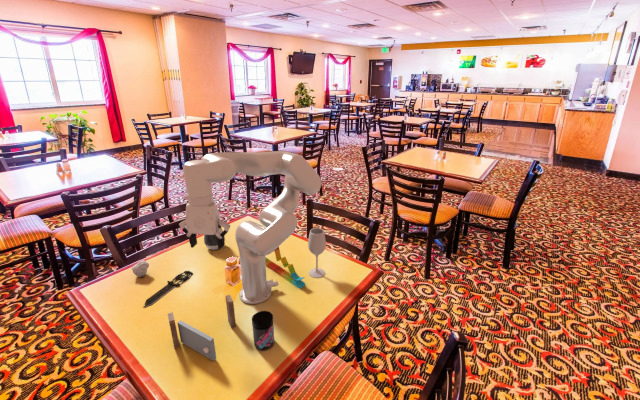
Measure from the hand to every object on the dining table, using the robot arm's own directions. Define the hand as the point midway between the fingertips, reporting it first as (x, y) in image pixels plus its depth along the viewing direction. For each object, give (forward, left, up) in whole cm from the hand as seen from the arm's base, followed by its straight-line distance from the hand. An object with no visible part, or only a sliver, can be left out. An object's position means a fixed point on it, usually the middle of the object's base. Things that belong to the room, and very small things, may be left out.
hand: (207, 246), depth 108 cm
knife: (+14, -25, -29) cm, 41 cm away
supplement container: (-10, +22, -29) cm, 37 cm away
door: (+10, +15, -28) cm, 33 cm away
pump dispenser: (-11, -51, -29) cm, 60 cm away
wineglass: (-45, -5, -29) cm, 54 cm away
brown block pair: (+6, +8, -28) cm, 30 cm away
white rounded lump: (+23, -41, -29) cm, 55 cm away
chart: (-31, -14, -29) cm, 45 cm away
